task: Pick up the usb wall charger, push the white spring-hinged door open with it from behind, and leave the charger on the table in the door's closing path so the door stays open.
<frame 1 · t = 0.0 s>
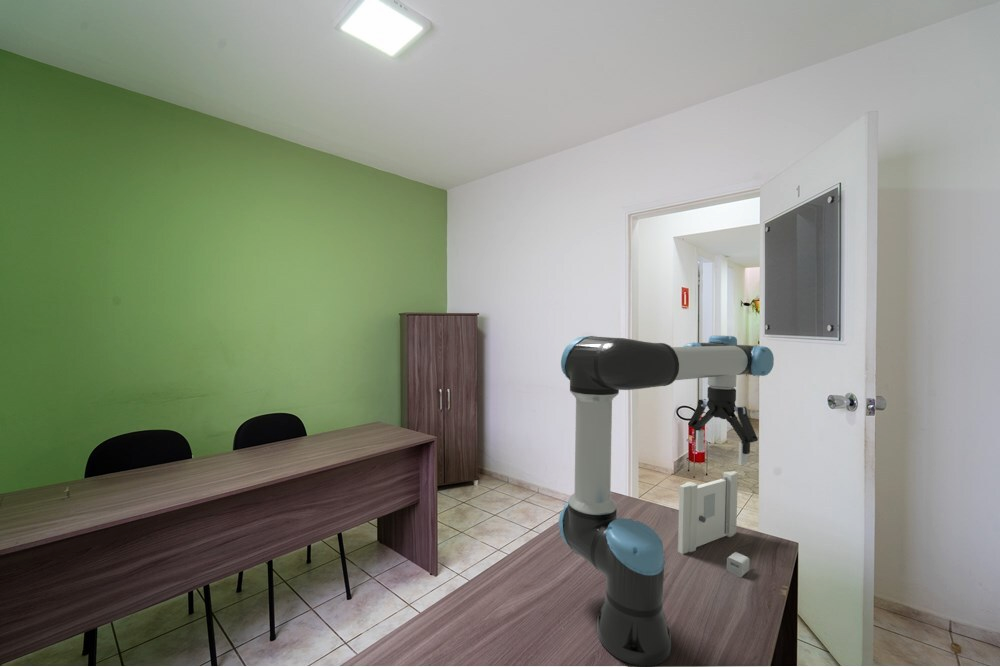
hand: (719, 457, 121), 28 cm above the table, fingers open, 13 cm apart
usb wall charger: (739, 570, 112), on the table
door: (710, 512, 125), point 9 cm above the table, hinge at 0.0°
door frame: (708, 542, 126), on the table
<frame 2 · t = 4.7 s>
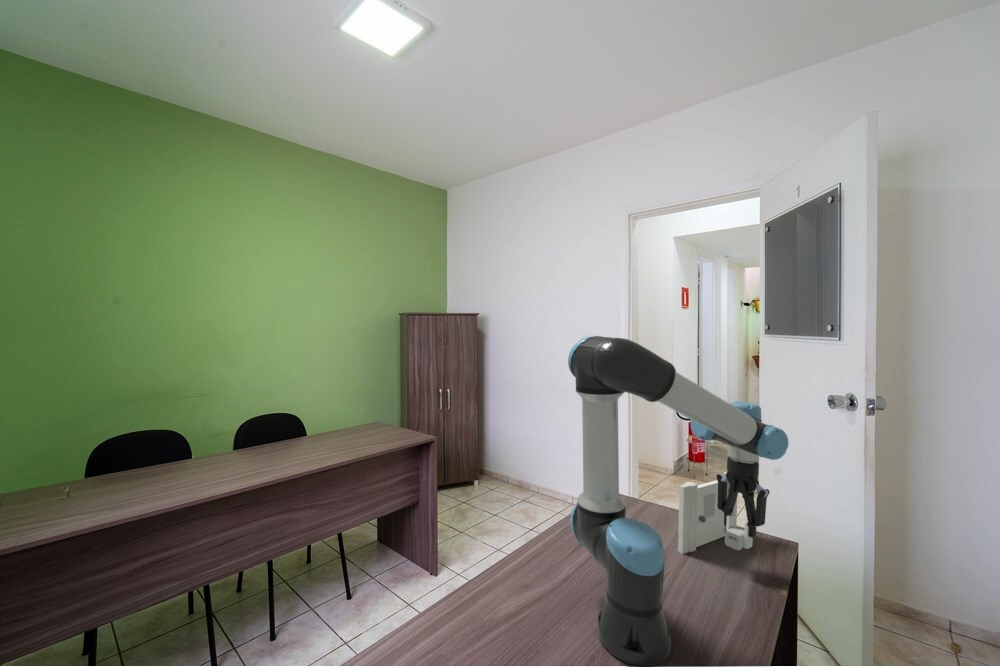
hand: (738, 542, 111), 8 cm above the table, fingers closed on usb wall charger, 4 cm apart
usb wall charger: (738, 544, 111), point 7 cm above the table, touching gripper
everything else where it was.
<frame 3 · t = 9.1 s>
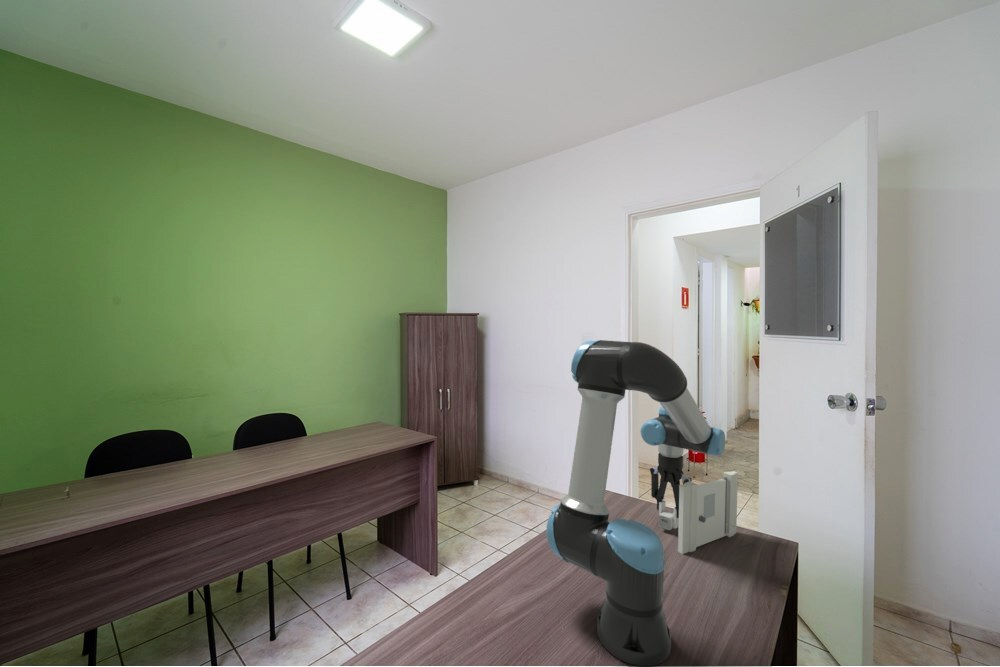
hand: (669, 523, 133), 2 cm above the table, fingers closed on usb wall charger, 4 cm apart
usb wall charger: (668, 525, 133), point 1 cm above the table, touching gripper
everything else where it was.
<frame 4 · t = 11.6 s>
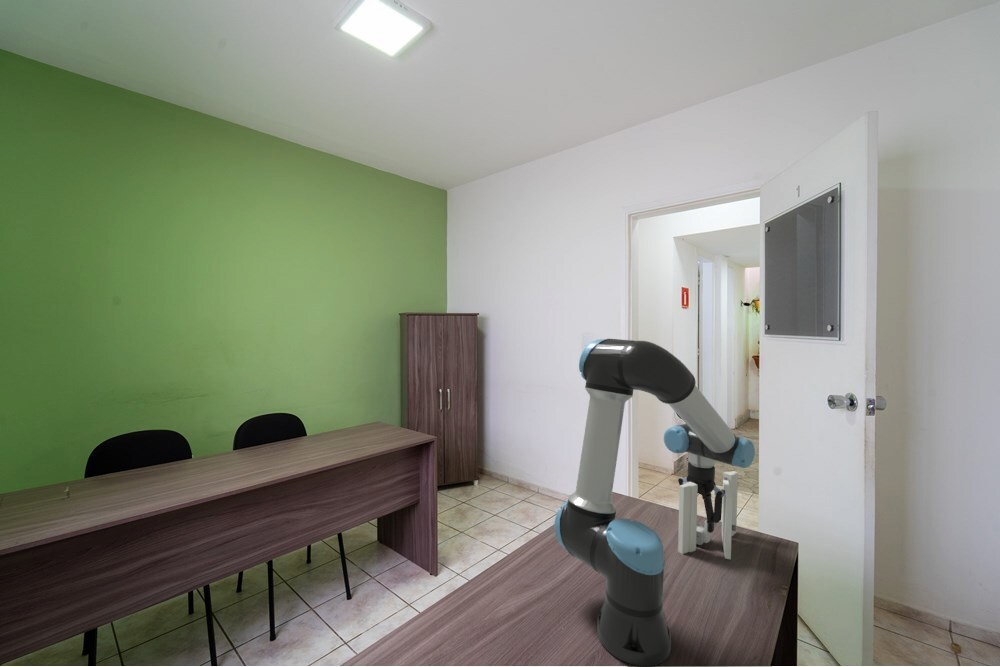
hand: (698, 537, 126), 1 cm above the table, fingers closed on usb wall charger, 4 cm apart
usb wall charger: (698, 539, 126), point 1 cm above the table, touching gripper
door: (728, 518, 122), point 9 cm above the table, hinge at 36.5°, touching hand
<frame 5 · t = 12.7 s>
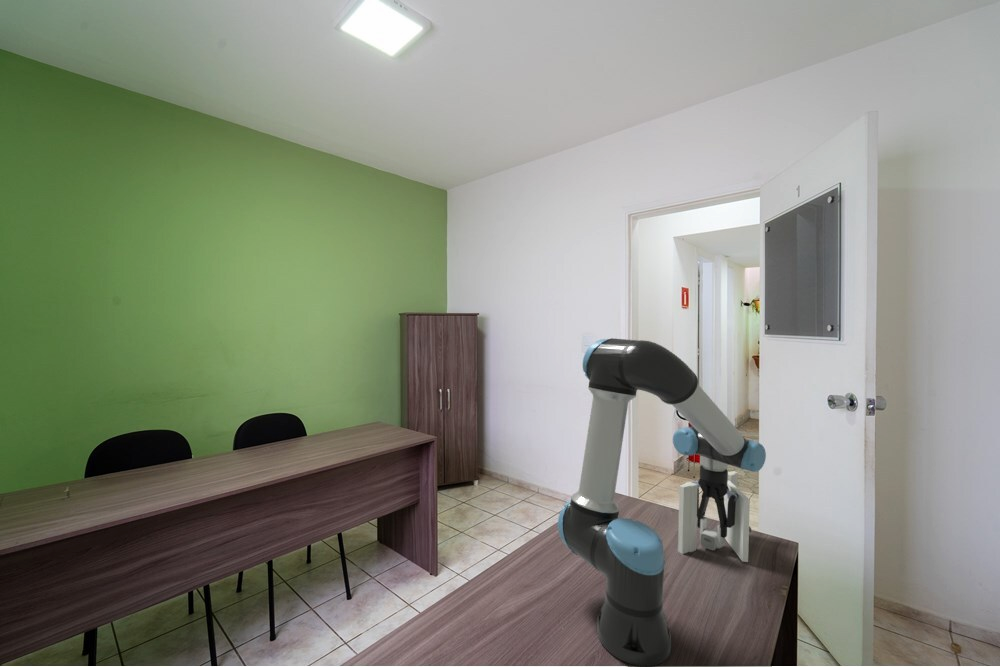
hand: (711, 542, 123), 1 cm above the table, fingers closed on usb wall charger, 4 cm apart
usb wall charger: (711, 544, 123), point 1 cm above the table, touching gripper
door: (737, 518, 121), point 9 cm above the table, hinge at 53.4°, touching hand
when the fingers open (1 cm above the table, at t = 13.6 s): usb wall charger drops 1 cm, on the table.
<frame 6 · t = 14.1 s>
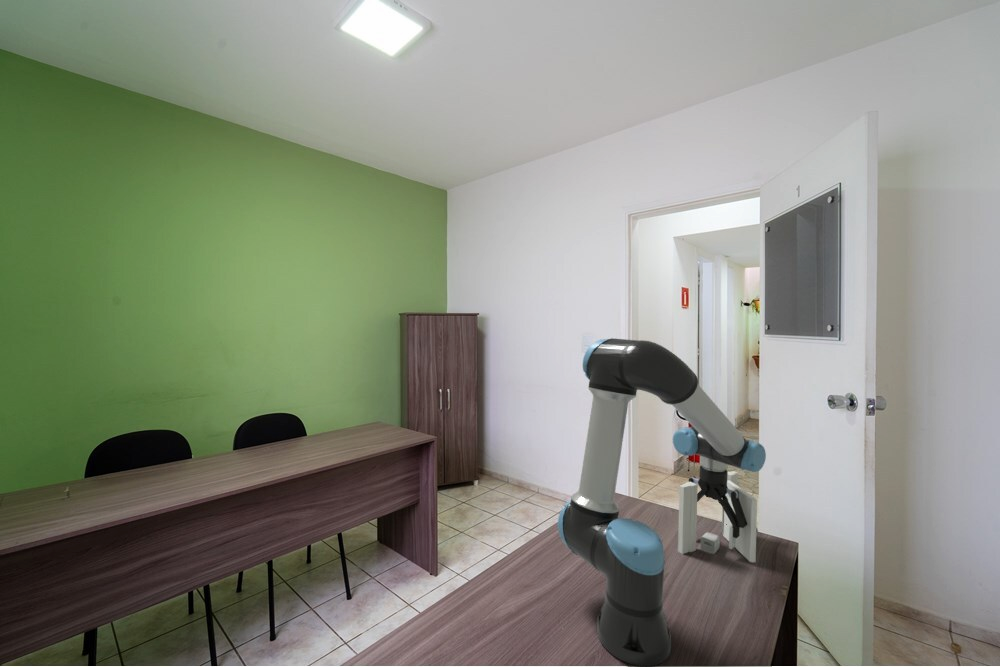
hand: (710, 538, 123), 3 cm above the table, fingers open, 11 cm apart
usb wall charger: (711, 548, 123), on the table
door: (741, 519, 121), point 9 cm above the table, hinge at 61.4°, touching hand
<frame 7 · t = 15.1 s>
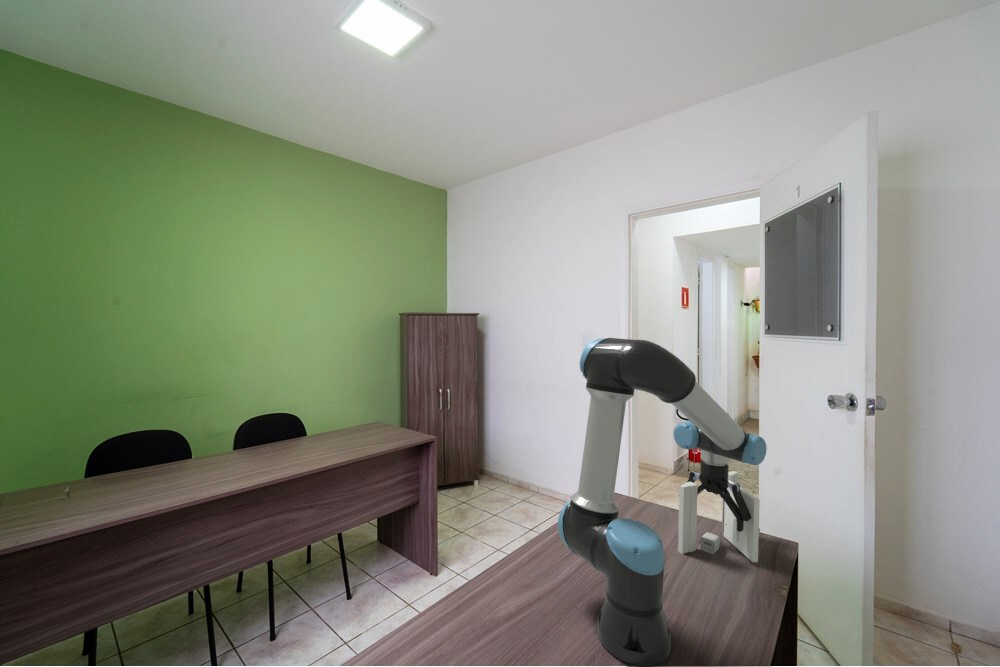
hand: (712, 531, 122), 5 cm above the table, fingers open, 13 cm apart
door: (742, 518, 121), point 9 cm above the table, hinge at 64.1°
everything else where it was.
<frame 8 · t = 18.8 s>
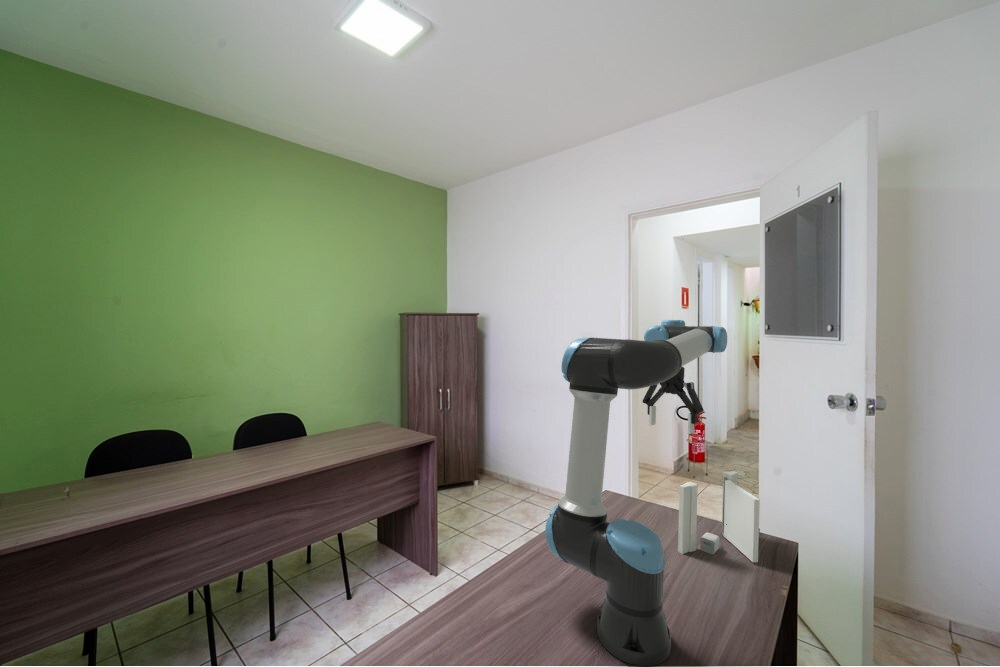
hand: (670, 428, 135), 33 cm above the table, fingers open, 13 cm apart
nothing on the table moved.
at the end: door at +64° (first picture: +0°); usb wall charger inside the target area (1.3 cm from its centre), on the table; the gripper is holding nothing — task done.
